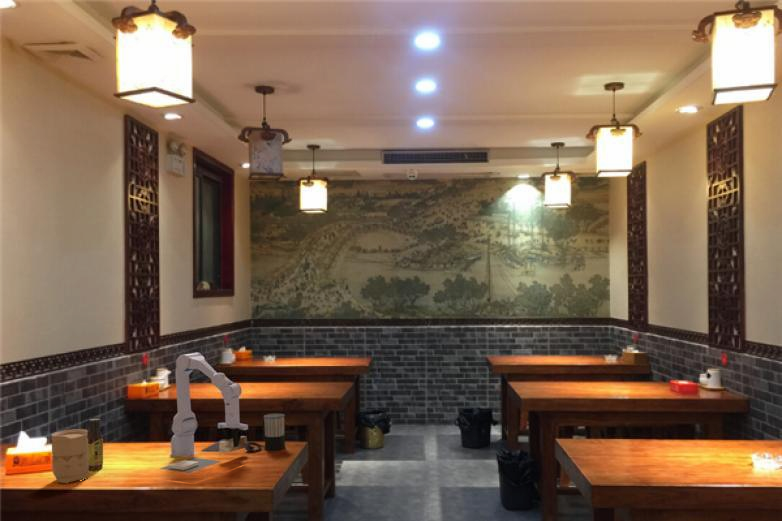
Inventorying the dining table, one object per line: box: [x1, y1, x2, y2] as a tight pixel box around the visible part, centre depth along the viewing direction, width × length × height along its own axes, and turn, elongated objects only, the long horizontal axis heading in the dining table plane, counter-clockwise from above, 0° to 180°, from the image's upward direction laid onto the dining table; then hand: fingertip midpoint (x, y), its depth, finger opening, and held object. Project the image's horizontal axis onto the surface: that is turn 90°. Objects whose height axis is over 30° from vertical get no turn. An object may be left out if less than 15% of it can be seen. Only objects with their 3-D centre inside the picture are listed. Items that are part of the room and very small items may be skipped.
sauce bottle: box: [87, 418, 104, 471], centre depth 282 cm, size 7×6×20 cm
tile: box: [168, 459, 199, 470], centre depth 277 cm, size 2×8×8 cm
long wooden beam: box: [218, 435, 248, 455], centre depth 288 cm, size 14×2×4 cm, turn 152°
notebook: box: [200, 438, 226, 453], centre depth 312 cm, size 13×2×21 cm
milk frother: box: [244, 413, 287, 453], centre depth 303 cm, size 14×16×15 cm
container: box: [51, 428, 89, 484], centre depth 267 cm, size 13×13×18 cm
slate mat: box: [159, 457, 222, 473], centre depth 280 cm, size 16×18×1 cm
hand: (233, 446), depth 288 cm, fingers closed on long wooden beam, 2 cm apart
